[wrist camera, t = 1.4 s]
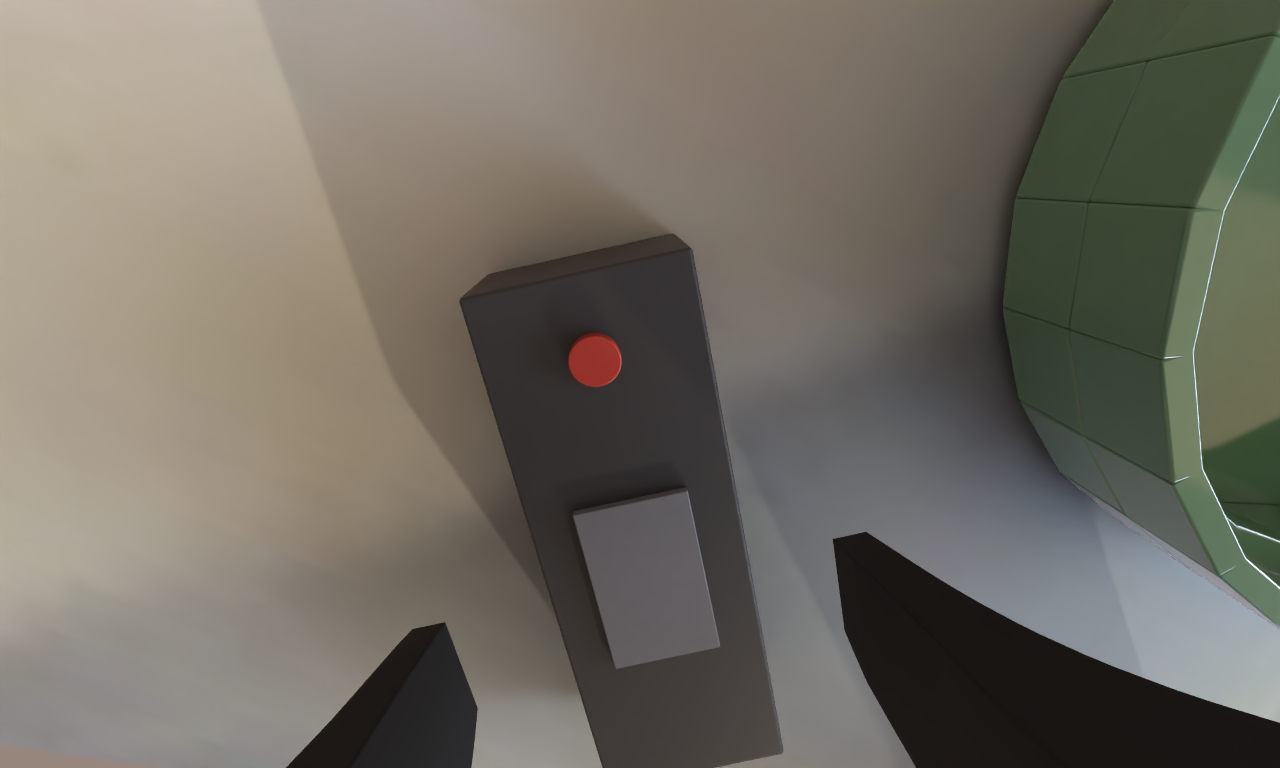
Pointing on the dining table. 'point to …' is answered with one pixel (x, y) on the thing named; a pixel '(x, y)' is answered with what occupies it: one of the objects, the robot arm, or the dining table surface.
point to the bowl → (1161, 283)
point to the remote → (631, 498)
